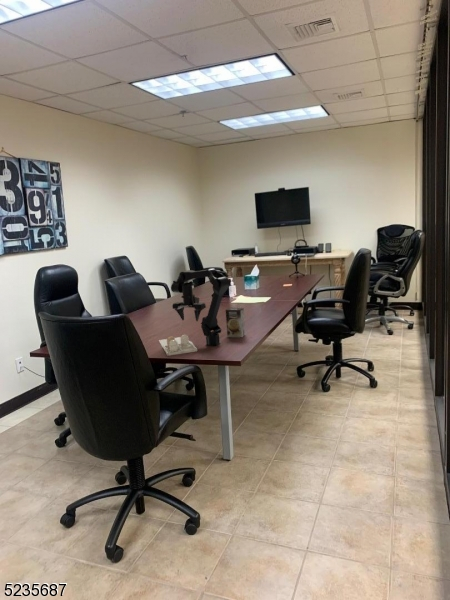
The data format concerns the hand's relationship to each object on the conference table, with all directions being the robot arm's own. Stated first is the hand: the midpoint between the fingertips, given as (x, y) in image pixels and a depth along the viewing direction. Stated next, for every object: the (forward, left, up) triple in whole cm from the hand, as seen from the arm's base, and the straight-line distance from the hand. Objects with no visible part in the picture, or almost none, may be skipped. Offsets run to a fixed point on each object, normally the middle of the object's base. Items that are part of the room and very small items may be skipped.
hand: (190, 320), depth 251 cm
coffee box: (-18, -18, -12) cm, 28 cm away
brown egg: (+1, +16, -11) cm, 20 cm away
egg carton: (+2, +11, -12) cm, 16 cm away
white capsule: (-5, +21, -11) cm, 24 cm away
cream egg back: (-4, +11, -11) cm, 16 cm away
